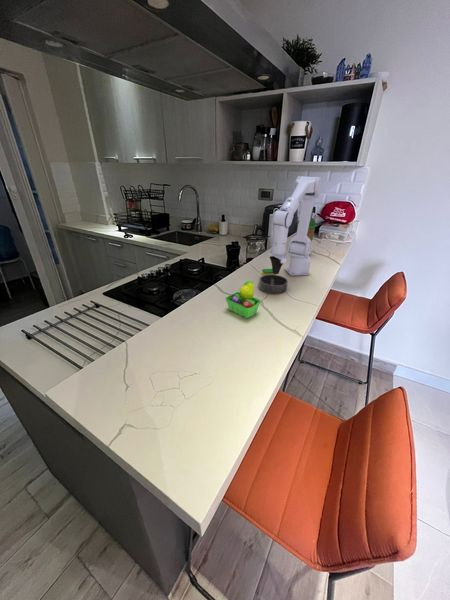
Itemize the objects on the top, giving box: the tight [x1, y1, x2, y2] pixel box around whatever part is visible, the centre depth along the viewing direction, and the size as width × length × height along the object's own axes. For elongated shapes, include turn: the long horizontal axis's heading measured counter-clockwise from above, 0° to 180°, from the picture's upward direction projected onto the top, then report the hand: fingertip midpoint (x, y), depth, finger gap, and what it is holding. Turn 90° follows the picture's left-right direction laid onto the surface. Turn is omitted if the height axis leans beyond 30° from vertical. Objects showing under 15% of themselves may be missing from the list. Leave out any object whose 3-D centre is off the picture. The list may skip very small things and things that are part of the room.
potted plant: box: [295, 208, 317, 243], centre depth 149 cm, size 11×11×28 cm
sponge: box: [261, 268, 277, 277], centre depth 121 cm, size 4×6×4 cm
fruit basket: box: [225, 280, 262, 319], centre depth 93 cm, size 11×9×11 cm
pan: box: [258, 274, 289, 295], centre depth 113 cm, size 12×12×4 cm
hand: (275, 273), depth 109 cm, fingers closed
